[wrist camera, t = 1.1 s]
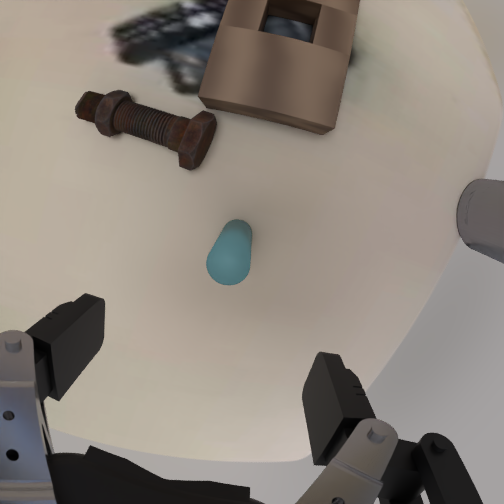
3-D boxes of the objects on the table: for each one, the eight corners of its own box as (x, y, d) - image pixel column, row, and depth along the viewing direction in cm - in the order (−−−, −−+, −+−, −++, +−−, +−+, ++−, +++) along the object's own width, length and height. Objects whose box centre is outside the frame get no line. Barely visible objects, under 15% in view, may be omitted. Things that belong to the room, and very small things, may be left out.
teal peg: (254, 223, 32) (254, 248, 21) (248, 251, 32) (244, 289, 22) (226, 216, 31) (211, 238, 21) (219, 244, 32) (202, 279, 22)
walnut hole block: (352, -11, 24) (364, -32, 20) (322, 135, 29) (334, 128, 24) (252, -35, 24) (252, -58, 19) (206, 107, 29) (197, 96, 24)
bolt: (101, 104, 30) (215, 140, 31) (77, 136, 29) (194, 179, 30) (90, 70, 25) (218, 105, 25) (60, 104, 23) (193, 146, 24)
